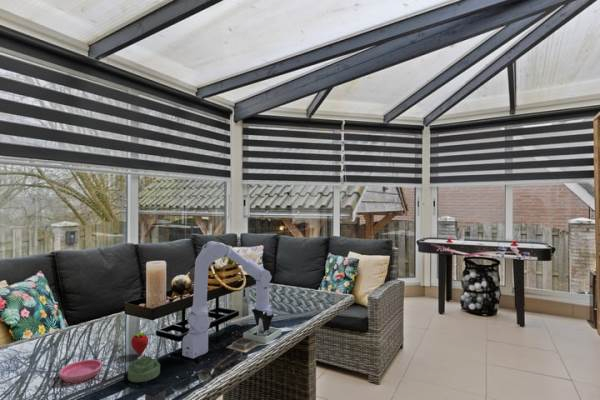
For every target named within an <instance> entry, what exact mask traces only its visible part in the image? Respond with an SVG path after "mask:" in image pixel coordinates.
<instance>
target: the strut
mask: <svg viewBox="0 0 600 400" xmlns="http://www.w3.org/2000/svg"><path fill="white" fill-rule="evenodd" d="M257 336H262V337H267V336H268V332H267V331H264V329H263V322H262V318H261V317H260V318H259V331H257Z"/></svg>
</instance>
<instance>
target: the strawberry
mask: <svg viewBox="0 0 600 400" xmlns="http://www.w3.org/2000/svg"><path fill="white" fill-rule="evenodd" d="M137 331H138V333H137V334H133V335H131V337H132V338H131V341H130V343H131V348H133V350H134V351H135V352H136V354H137V355H138V356H142V355H143V353H144V351H146V349H147V347H148V344H149V337H148V335H147V333H146V332H141V331H139V330H138V329H137Z"/></svg>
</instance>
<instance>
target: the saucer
mask: <svg viewBox="0 0 600 400" xmlns="http://www.w3.org/2000/svg"><path fill="white" fill-rule="evenodd" d="M102 368H103V362H102V361H101V360H99V359H84V360H78V361H74V362H71V363H69V364H67V365H65V366H63V367H62V368H61V369H59V371H58V377H59V378H60V379H61V380H63V381H64V382H65V381H66V383H67V382H71V383H70V384H76V383H75V382H78V383H82V381H83V382H85V381H88V379H89V380H90V378H91V379H93V378H95V376H97V374H98V373H100V372H101V370H102ZM92 377H93V378H92Z"/></svg>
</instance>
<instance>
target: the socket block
mask: <svg viewBox="0 0 600 400" xmlns="http://www.w3.org/2000/svg"><path fill="white" fill-rule="evenodd" d="M261 344H262V343H261V342H257V341H255V340H252V339H247V338H243V336H242V337H240V338H238V339H236V340H235V341H233V342H231V344H230V345H228V346H226V347H225V348H227V349H231V350H234V351H238V352H241V353H248V352H249V351H251V350H253V349H254V348H256V347H257V346H259V345H261Z"/></svg>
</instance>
